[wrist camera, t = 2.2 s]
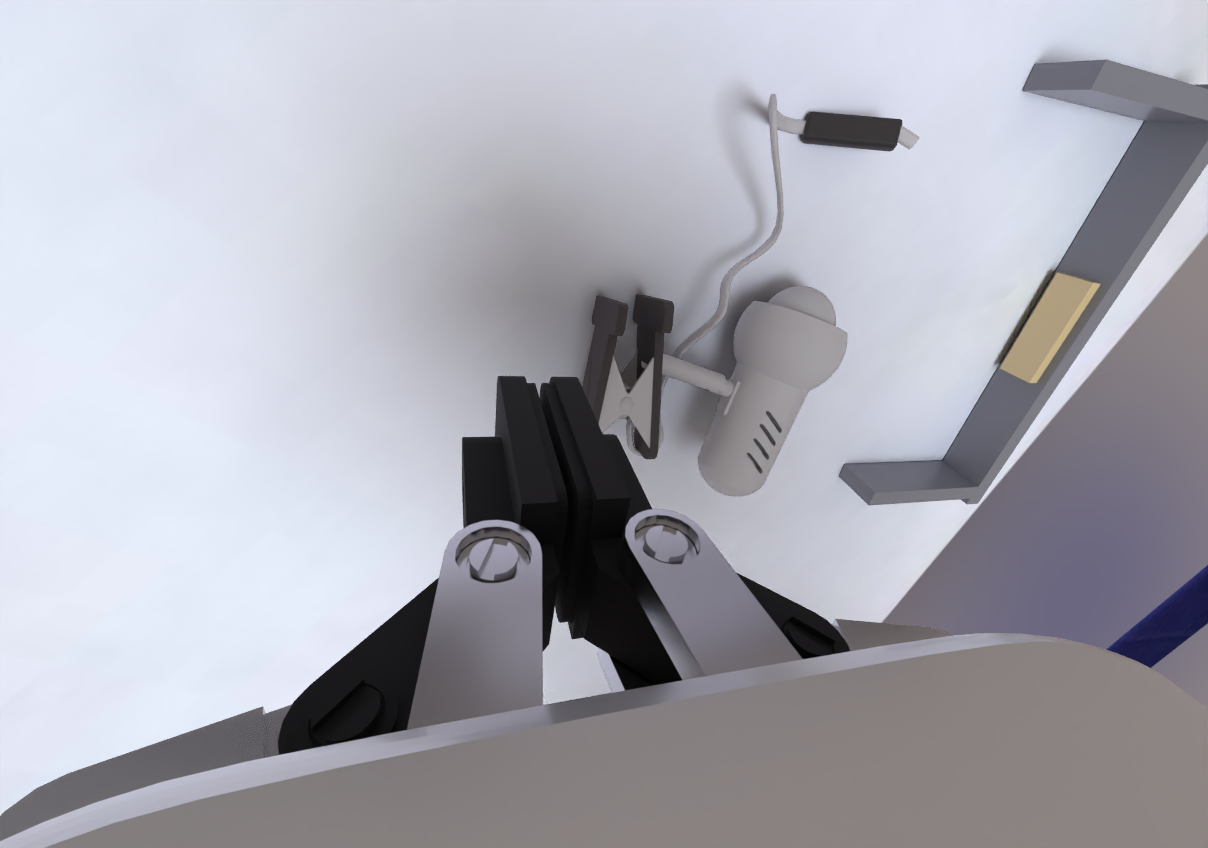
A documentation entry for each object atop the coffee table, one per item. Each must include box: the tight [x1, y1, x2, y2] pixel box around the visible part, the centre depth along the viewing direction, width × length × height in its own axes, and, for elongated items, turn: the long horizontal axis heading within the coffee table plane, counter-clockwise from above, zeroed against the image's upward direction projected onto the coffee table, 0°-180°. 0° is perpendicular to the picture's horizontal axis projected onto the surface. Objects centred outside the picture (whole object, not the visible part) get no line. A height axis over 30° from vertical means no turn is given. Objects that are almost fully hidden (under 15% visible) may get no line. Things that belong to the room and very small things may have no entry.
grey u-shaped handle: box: [839, 60, 1208, 505], centre depth 28 cm, size 24×10×3 cm, turn 171°
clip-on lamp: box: [582, 94, 919, 496], centre depth 22 cm, size 12×6×18 cm
